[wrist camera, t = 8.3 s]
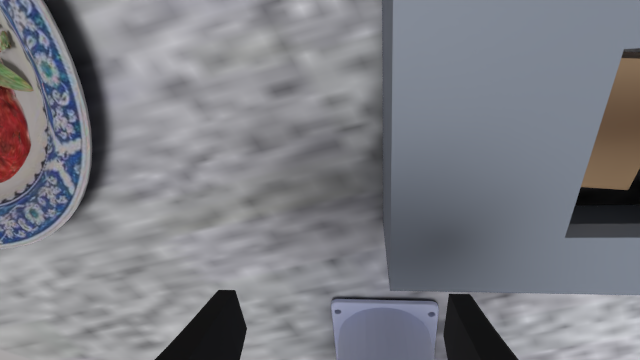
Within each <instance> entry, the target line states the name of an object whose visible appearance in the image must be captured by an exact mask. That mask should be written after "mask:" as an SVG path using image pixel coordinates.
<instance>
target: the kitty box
mask: <svg viewBox="0 0 640 360" xmlns="http://www.w3.org/2000/svg"><path fill="white" fill-rule="evenodd" d="M382 39H383V226H384V236H385V246H386V255H387V265H388V275H389V285H390V291H443V292H497V293H550V294H604V295H640V205H592V206H575V204H576V200H577V197H578V194H579V191H580V188H581V184H582V181H583V178H584V175H585V172H586V169H587V165H588V162H589V159H590V156H591V153H592V149H593V146H594V143H595V140H596V137H597V134H598V130H599V127H600V124H601V121H602V118H603V115H604V111H605V108H606V105H607V102H608V99H609V95H610V92H611V89H612V86H613V83H614V80H615V76H616V73H617V70H618V67H619V64H620V60H621V57H622V54H623V51H624V49H634V48H640V0H382Z"/></svg>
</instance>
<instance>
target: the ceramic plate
mask: <svg viewBox="0 0 640 360" xmlns="http://www.w3.org/2000/svg"><path fill="white" fill-rule="evenodd" d="M91 162H92V137H91V126H90V120H89V114H88V108H87V104H86V100H85V96H84V92H83V89H82V85H81V82H80V79H79V76H78V73H77V70H76V68H75V65H74V62H73V59H72V57H71V55H70V52H69V50H68V48H67V45H66V43H65V41H64V38H63V36H62V34H61V32H60V30H59V28H58V26H57V24H56V22H55V20H54V18H53V17H52V15H51V13H50V11H49V9H48V7H47V5H46V4H45V2H44V0H0V249H8V248H17V247H21V246H25V245H29V244H32V243H35V242H38V241H40V240H42V239H44V238H46V237H48V236H50V235H51V234H53V233H54V232H55V231H57V230H58V229H59V228H60V227H61V226H62V225H63V224H64V223H66V222H67V221H68V220H69V219H70V218H71V216H72V215H73V214H74V212H75V211H76V209H77V208H78V206H79V204H80V202H81V200H82V198H83V196H84V194H85V191H86V188H87V184H88V181H89V176H90V170H91Z"/></svg>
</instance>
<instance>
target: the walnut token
mask: <svg viewBox="0 0 640 360" xmlns="http://www.w3.org/2000/svg"><path fill="white" fill-rule="evenodd" d="M639 169H640V52H623V54H622V57H621V60H620V64H619V67H618V70H617V73H616V76H615V80H614V83H613V86H612V89H611V92H610V95H609V99H608V102H607V105H606V108H605V111H604V115H603V118H602V121H601V124H600V127H599V130H598V134H597V137H596V140H595V143H594V146H593V149H592V153H591V156H590V159H589V162H588V165H587V169H586V172H585V175H584V178H583V181H582V184H581V187H589V188H604V189H618V190H628V189H629V188H630V186H631V184H632V182H633V180H634V178H635V176H636V174H637V173H638V171H639Z"/></svg>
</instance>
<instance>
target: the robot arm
mask: <svg viewBox="0 0 640 360" xmlns="http://www.w3.org/2000/svg"><path fill="white" fill-rule="evenodd" d="M337 309H338V310H337ZM331 311H332V320H333V330H334V339H335V348H336V358H337V360H435V356H434V350H435V341H436V331H437V322H438V313H439V307H438V304H437V303H436V302H434V301H405V300H361V299H334V300H333V301H332V303H331ZM430 312H431V313H430ZM246 330H247V327H246V324H245V321H244V318H243V314H242V311H241V308H240V304H239V301H238V298H237V295H236V291H235V290H218V291H217V292H216V293H215V295H214V296H213V297H212V298H211V299H210V300H209V301H208V302H207V304H206V305H205V306H204V307H203V308H202V309H201V310H200V312H199V313H198V314H197V315H196V316H195V317H194V318H193V319H192V321H191V322H190V323H189V324H188V325H187V326H186V327H185V328H184V329H183V330H182V332H181V333H180V334H179V335H178V336H177V337H176V338H175V339H174V340H173V341H172V342H171V343H170V345H169V346H168V347H167V348H166V349H165V350H164V351H163V352H162V353H161V354H160V355H159V356H158V357H157V358H156V359H155V360H240V356H241V352H242V348H243V344H244V340H245V335H246ZM444 341H445V347H446V352H447V357H448V360H518V358H517V357H516V356H515V355H514V353H513V352H512V351H511V350H510V348H509V347H508V346H507V345H506V343H505V342H504V341H503V339H502V338H501V337H500V335H499V334H498V333H497V331H496V330H495V329H494V327H493V326H492V325H491V323H490V322H489V321H488V319H487V318H486V316H485V315H484V313H483V312H482V311H481V309H480V308H479V306H478V305H477V303H476V302H475V300H474V299H473V297H472V296H471V295H469V294H449V298H448V306H447V313H446V320H445V328H444Z"/></svg>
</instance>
